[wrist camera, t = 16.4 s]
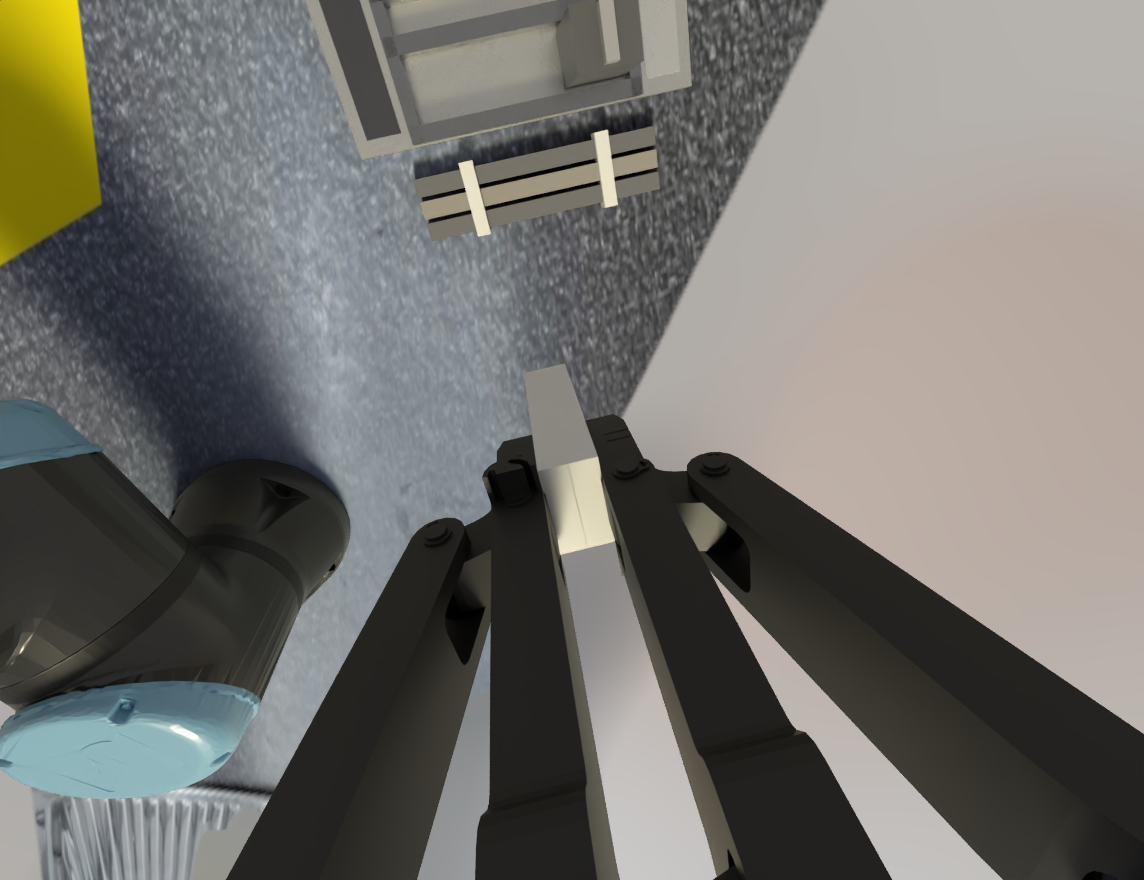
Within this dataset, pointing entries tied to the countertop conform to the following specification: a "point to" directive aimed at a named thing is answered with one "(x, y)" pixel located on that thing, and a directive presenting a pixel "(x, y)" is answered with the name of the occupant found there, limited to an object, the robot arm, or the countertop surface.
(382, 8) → the panel
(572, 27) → the toggle
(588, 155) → the strapped plank bundle
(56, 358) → the countertop surface
